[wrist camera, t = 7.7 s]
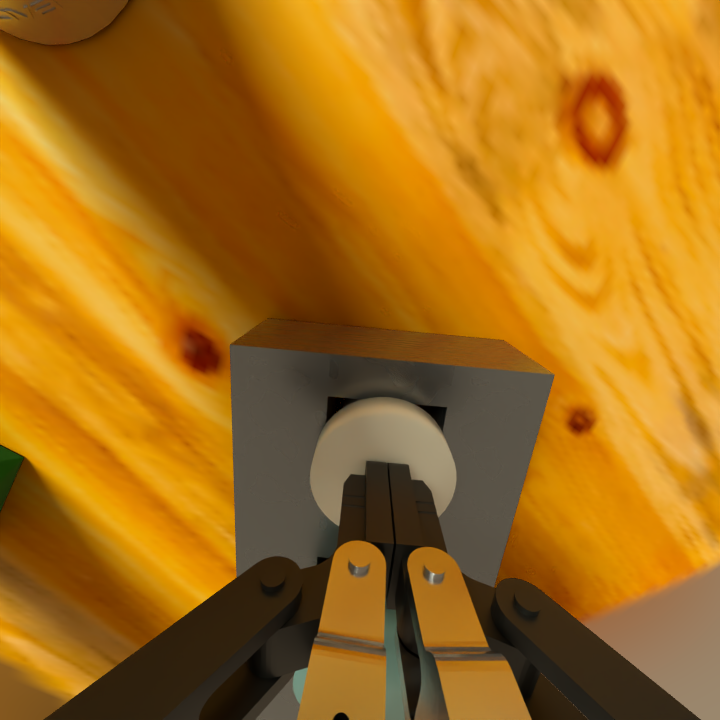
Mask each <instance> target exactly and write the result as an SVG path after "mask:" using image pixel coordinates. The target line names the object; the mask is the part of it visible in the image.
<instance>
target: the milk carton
mask: <svg viewBox="0 0 720 720" xmlns="http://www.w3.org/2000/svg"><path fill="white" fill-rule="evenodd" d="M23 459H24V457H22V456H20V455H18V454H16V453H14V452H12V451H10V450H8V449H6V448H4V447H2V446H0V511H1V509H2V507H3V504H4V502H5V500H6V498H7V495H8V493H9V491H10V488H11V486H12V484H13V482H14V479H15V477H16V475H17V472H18V470H19V468H20V466H21V463H22V461H23Z"/></svg>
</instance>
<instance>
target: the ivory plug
mask: <svg viewBox="0 0 720 720" xmlns="http://www.w3.org/2000/svg"><path fill="white" fill-rule="evenodd" d="M366 461H376V462H386V463H398V464H408V465H409V469H410V474H411V479H412V480H423V481H424V483H425V484H426V485H427V486H428V488H429V489H430V490H431V492H432V496H433V499H434V505H435V507H436V511H437V515H438V517H439V516H440V515H441V514H442V513H443V512H444V511H445V509H446V508H447V506H448V505H449V503H450V501H451V499H452V497H453V494H454V491H455V487H456V467H455V463H454V460H453V457H452V454H451V452H450V449H449V447H448V444H447V442H446V439H445V437H444V435H443V432H442V430H441V429H440V427H439V425H438V424H437V422H436V421H435V420H434V419H433V418H432V417H431V416H430V415H429V414H428V413H427V412H426V411H424V410H423V409H422V408H420V407H418V406H417V405H415V404H413V403H410V402H408V401H405V400H401V399H398V398H391V397H372V398H367V399H352V398H345V399H344V405H343V408H342V409H341V410H339V411H338V412H337V413H335V414H334V415H333V416H332V417H331V418H330V419H329V421H328V422H327V423H326V424H325V426H324V428H323V429H322V431H321V433H320V435H319V438H318V442H317V446H316V449H315V453H314V457H313V461H312V465H311V470H310V485H311V490H312V493H313V496H314V499H315V501H316V503H317V505H318V506H319V508H320V509H321V511H322V512H323V513H324V514H325V515H326V516H327V517H328V518H329V519H330V520H331V521H332V522H333V523H335V524H336V525H338V526H339V523H340V514H341V504H342V494H343V485H344V482H345V481H346V479H347V478H348V477H349V476H350V474H356V475H365V467H366Z"/></svg>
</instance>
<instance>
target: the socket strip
mask: <svg viewBox="0 0 720 720" xmlns="http://www.w3.org/2000/svg"><path fill="white" fill-rule="evenodd" d="M230 364H231V399H232V433H233V467H234V502H235V536H236V571H237V577H238V576H240V575H241V574H242V573H244V572H245V571H246V570H248V569H249V568H250V567H252V566H253V565H255V564H256V563H257V562H259V561H261V560H263V559H265V558H268V557H273V556H281V557H286V558H289V559H291V560H293V561H294V562H295V563H296V564H297V565H298V566H299V568H300V569H303V568H307V567H312V566H315V565H318V564H321V563H323V562H324V561H326V560H327V559H328V558H329V557H330V556H331V555H332V554H333V553H334V551H335V549H336V547H337V542H338V533H339V526H338V525H336V524H335V523H333V522H332V521H331V520H330V519H329V518H328V517H327V516H326V515H325V514H324V513H323V512H322V511H321V509H320V508H319V506H318V505H317V503H316V501H315V499H314V496H313V493H312V490H311V485H310V470H311V465H312V461H313V457H314V453H315V449H316V446H317V442H318V438H319V435H320V433H321V431H322V429H323V428H324V426H325V424H326V423H327V422H328V421H329V419H330V418H331V417H332V416H333V415H334V410H335V397H341V398H352V399H367V398H372V397H391V398H398V399H401V400H405V401H408V402H410V403H413V404H418V405H420V406H419V407H420V408H422V409H423V410H424V411H426V412H427V413H428V414H429V415H430V416H431V417H432V418H433V419H434V420H435V421H436V422H437V424H438V425H439V427H440V429H441V430H442V432H443V435H444V437H445V439H446V442H447V444H448V447H449V449H450V452H451V454H452V457H453V460H454V463H455V467H456V487H455V491H454V494H453V497H452V499H451V501H450V503H449V505H448V506H447V508H446V509H445V511H444V512H443V513H442V514H441V515H440V516H439V517H438V518H439V522H440V526H441V530H442V534H443V537H444V541H445V545H446V549H447V553H448V555H450V556H451V557H452V558H453V559H454V560H455V561H456V563H457V564H458V566H459V568H460V571H461V572H462V573H464V574H465V575H466V576H468V577H470V578H471V579H474V580H476V581H478V582H481V583H484V584H486V585H489V586H491V587H494V585H495V582H496V578H497V575H498V571H499V568H500V564H501V561H502V557H503V554H504V550H505V547H506V543H507V540H508V536H509V533H510V529H511V526H512V522H513V519H514V515H515V512H516V508H517V505H518V501H519V498H520V494H521V491H522V487H523V484H524V480H525V477H526V473H527V470H528V466H529V463H530V459H531V456H532V452H533V449H534V445H535V442H536V438H537V435H538V431H539V428H540V424H541V421H542V417H543V414H544V410H545V407H546V403H547V400H548V396H549V393H550V389H551V386H552V382H553V379H554V374H553V373H551V372H550V371H548V370H547V369H545V368H544V367H542V366H541V365H539V364H538V363H537V362H535V361H534V360H532V359H531V358H529V357H528V356H526V355H525V354H523V353H522V352H520V351H519V350H517V349H516V348H514V347H513V346H511V345H510V344H508V343H507V342H505V341H504V340H495V339H485V338H474V337H463V336H453V335H442V334H431V333H421V332H410V331H399V330H388V329H378V328H367V327H356V326H346V325H335V324H324V323H314V322H303V321H292V320H281V319H271V318H267V319H266V320H265V321H263V322H262V323H260V324H259V325H257V326H256V327H255V328H253V329H252V330H250V331H249V332H247V333H246V334H244V335H243V336H242V337H240V338H239V339H237V340H236V341H234V342H233V343H232V344H230ZM293 678H294V675H293V677H292V678H291V679H290V681H289V682H288V683H287V684H286V685H285V686H284V688H283V689H282V690H281V691H280V692H279V693H278V694H277V696H276V697H275V698H274V699H273V700H272V701H271V702H270V703H269V705H268V706H267V707H266V708H265V709H264V710H263V711H262V713H261V714H260V715H259V716H258V717H257V718H256V719H255V720H297V718H298V713H299V708H300V704H299V702H298V701H297V699H296V697H295V694H294V690H293Z"/></svg>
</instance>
